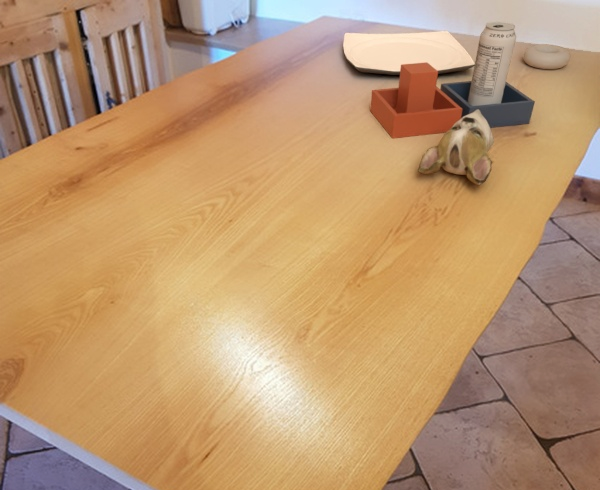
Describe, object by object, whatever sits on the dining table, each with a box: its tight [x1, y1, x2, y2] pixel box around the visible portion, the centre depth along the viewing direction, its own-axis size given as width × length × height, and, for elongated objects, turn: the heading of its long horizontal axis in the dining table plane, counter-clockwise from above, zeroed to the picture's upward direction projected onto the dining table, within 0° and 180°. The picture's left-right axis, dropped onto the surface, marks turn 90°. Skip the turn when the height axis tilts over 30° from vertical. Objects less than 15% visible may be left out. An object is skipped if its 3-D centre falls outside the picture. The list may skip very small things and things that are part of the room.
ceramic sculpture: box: [417, 109, 495, 186], centre depth 85 cm, size 11×9×15 cm
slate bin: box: [439, 80, 536, 129], centre depth 103 cm, size 13×13×4 cm
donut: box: [522, 43, 571, 70], centre depth 125 cm, size 10×3×10 cm
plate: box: [342, 30, 475, 76], centre depth 129 cm, size 29×29×3 cm
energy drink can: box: [468, 21, 517, 106], centre depth 99 cm, size 6×6×15 cm
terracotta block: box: [396, 62, 439, 114], centre depth 99 cm, size 5×5×9 cm
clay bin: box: [370, 85, 462, 139], centre depth 101 cm, size 13×13×4 cm
